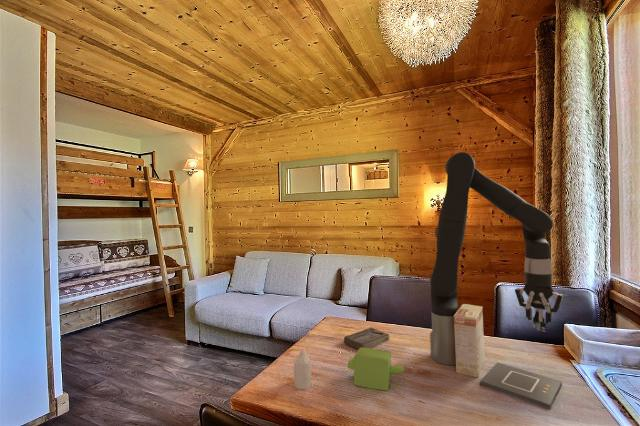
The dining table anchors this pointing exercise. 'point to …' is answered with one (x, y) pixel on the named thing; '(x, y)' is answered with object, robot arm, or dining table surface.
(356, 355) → the gearbox
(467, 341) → the coffeecake box
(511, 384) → the socket plate
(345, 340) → the box
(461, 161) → the robot arm
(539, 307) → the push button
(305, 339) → the dining table surface
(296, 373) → the squeeze bottle
